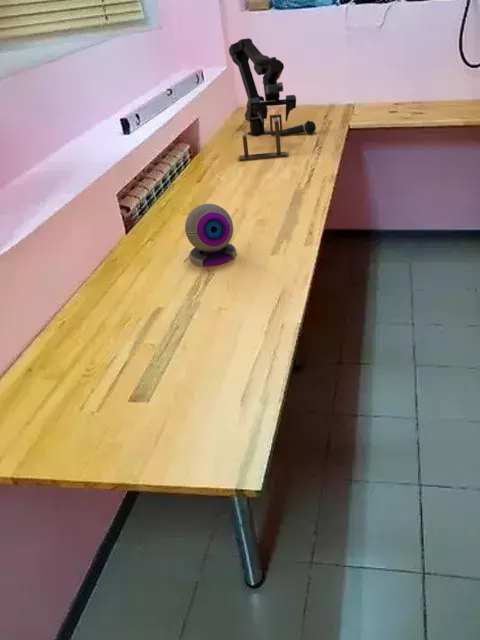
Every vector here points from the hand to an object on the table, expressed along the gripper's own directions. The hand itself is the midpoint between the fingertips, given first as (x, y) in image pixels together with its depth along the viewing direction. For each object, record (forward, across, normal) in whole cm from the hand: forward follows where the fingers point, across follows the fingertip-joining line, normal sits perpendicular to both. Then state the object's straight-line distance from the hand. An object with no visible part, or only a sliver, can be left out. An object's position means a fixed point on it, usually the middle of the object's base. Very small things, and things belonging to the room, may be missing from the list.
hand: (275, 122), depth 249 cm
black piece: (+5, 0, 0) cm, 5 cm away
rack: (+12, -6, +4) cm, 14 cm away
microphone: (-8, +10, +24) cm, 27 cm away
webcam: (+77, -26, -61) cm, 102 cm away
